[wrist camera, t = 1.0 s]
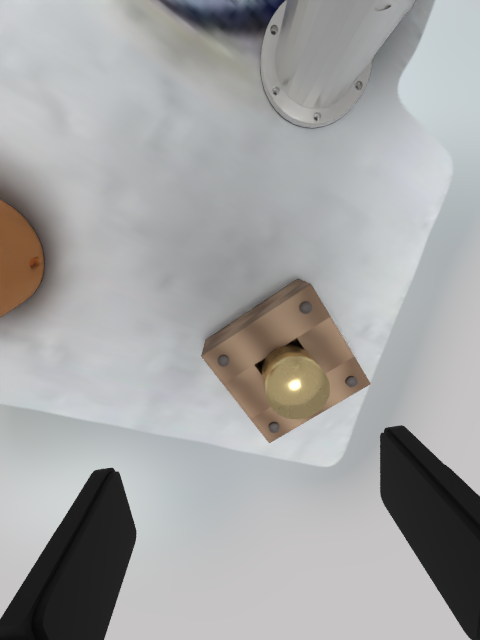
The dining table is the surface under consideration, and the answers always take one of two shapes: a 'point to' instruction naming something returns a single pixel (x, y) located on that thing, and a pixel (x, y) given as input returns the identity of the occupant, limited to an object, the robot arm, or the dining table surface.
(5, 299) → the flower pot
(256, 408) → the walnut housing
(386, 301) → the dining table surface
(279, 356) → the yellow translucent cylinder
